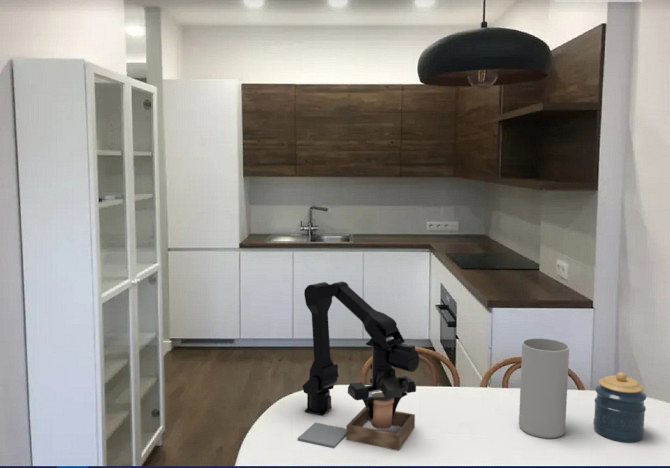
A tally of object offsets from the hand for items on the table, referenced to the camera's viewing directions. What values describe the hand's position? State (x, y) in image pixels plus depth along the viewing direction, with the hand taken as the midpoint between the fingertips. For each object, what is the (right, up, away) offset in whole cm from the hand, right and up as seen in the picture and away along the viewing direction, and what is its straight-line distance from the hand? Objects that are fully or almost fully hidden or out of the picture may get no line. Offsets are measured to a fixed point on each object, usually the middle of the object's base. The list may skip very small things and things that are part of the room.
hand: (381, 417), depth 161 cm
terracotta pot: (0, -2, 0) cm, 2 cm away
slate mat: (-16, -5, -1) cm, 17 cm away
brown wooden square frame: (0, -5, +1) cm, 5 cm away
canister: (+67, -5, +2) cm, 68 cm away
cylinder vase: (+46, -5, +4) cm, 47 cm away
